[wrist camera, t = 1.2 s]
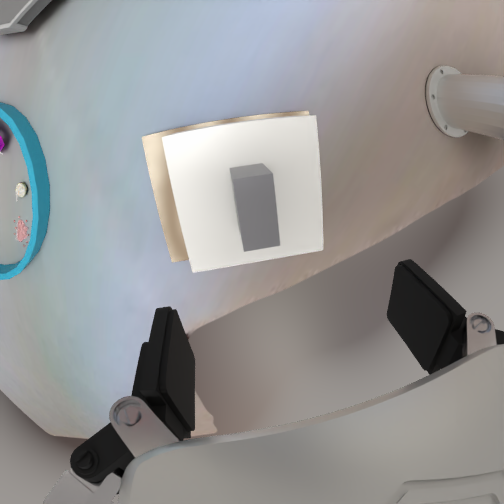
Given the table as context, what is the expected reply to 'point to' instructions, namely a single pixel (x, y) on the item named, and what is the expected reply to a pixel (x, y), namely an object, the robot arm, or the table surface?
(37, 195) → the blue ring
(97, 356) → the table surface
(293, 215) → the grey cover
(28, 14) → the first aid kit
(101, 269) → the table surface
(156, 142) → the birch board
